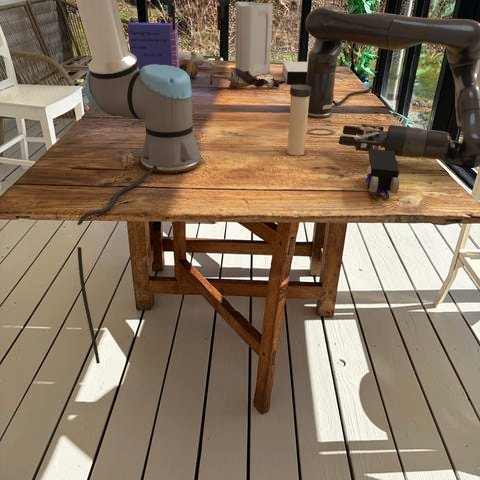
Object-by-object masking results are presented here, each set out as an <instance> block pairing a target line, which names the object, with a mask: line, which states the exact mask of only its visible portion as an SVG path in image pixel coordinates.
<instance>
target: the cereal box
mask: <svg viewBox="0 0 480 480" xmlns="http://www.w3.org/2000/svg"><path fill="white" fill-rule="evenodd" d="M126 25H127V34H128V43H129V44H128V45H129V52H130V53H131V54H133V55H134V56H136V58H137V63H138V67H139V70H141V68H142V67H144V66H146V65H154V64H157V65H168V66H173V67H177V68H179V52H180V51H179V35H178V23H176V22H175V30H173V23H171V22H170V23H169V22H133V21H131V22H130V21H129V22H128V23H127V24H126Z"/></svg>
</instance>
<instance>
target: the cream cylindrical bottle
mask: <svg viewBox="0 0 480 480" xmlns="http://www.w3.org/2000/svg"><path fill="white" fill-rule="evenodd" d="M289 106H290V107H289V122H288V136H287V149H286V153H287V154H289V155H290V156H295V157H296V156H303V155H304V154H305V151H306V139H307V128H308V118H309V116H308V107H309V96H307V97H296V96H292V95H290V105H289Z"/></svg>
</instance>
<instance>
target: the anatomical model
mask: <svg viewBox="0 0 480 480" xmlns="http://www.w3.org/2000/svg"><path fill="white" fill-rule="evenodd" d="M195 52H196V51H191V52H190V54H191V55H192V57H191V59H190V60H189V59H185V58H183V59H181V61H180V62H179V68H180V69H182V70H184V71H185V72H186V73H187V74H188V75H189V77H190V79H193V78H196V77H197V76H198V74H199V67H198V68H197V66H196V64H195V62H194V61H195V59H196V53H195Z"/></svg>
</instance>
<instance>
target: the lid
mask: <svg viewBox="0 0 480 480" xmlns="http://www.w3.org/2000/svg"><path fill="white" fill-rule="evenodd" d="M289 95H290V96H291V95H292V96H296V97H307V96H310V95H311V87H310V86H307V85H306V84H291V85H290V87H289Z"/></svg>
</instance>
